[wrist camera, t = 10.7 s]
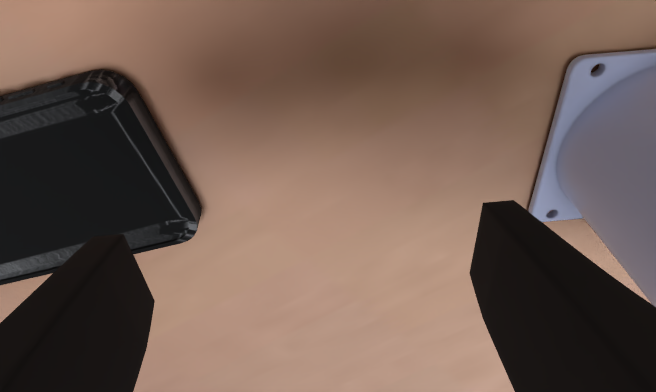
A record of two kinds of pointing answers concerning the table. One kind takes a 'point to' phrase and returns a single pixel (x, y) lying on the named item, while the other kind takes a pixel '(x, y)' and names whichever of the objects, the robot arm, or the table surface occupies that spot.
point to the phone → (85, 174)
